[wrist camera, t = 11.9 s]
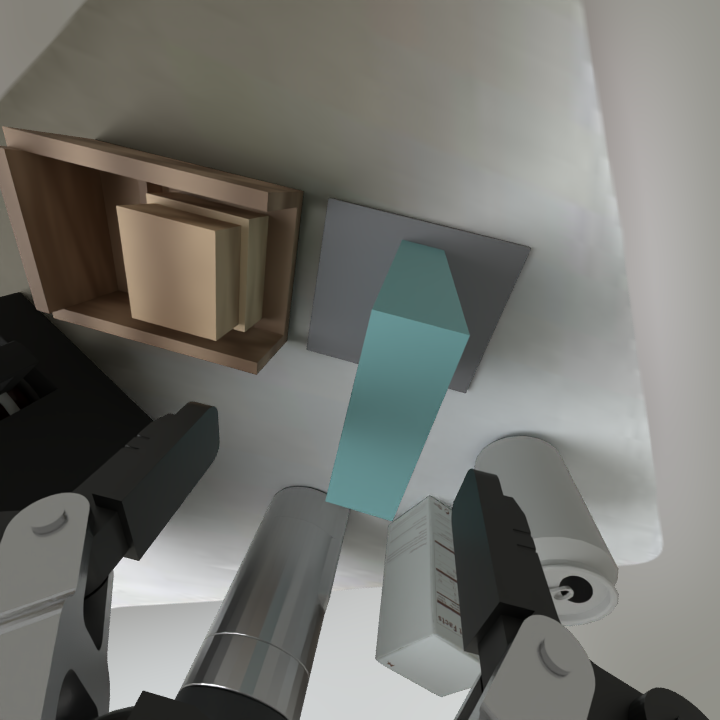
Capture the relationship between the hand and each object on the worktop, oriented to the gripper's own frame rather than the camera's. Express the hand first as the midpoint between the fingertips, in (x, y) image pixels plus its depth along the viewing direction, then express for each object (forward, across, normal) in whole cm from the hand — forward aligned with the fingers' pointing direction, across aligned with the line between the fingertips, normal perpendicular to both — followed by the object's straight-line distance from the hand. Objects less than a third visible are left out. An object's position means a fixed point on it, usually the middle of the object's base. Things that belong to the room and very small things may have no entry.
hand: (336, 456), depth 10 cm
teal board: (+17, -2, 0) cm, 17 cm away
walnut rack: (+18, +15, 0) cm, 23 cm away
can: (+17, -15, +13) cm, 26 cm away
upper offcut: (+14, +13, 0) cm, 19 cm away
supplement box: (+18, -10, +25) cm, 32 cm away
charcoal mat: (+17, -2, 0) cm, 17 cm away
